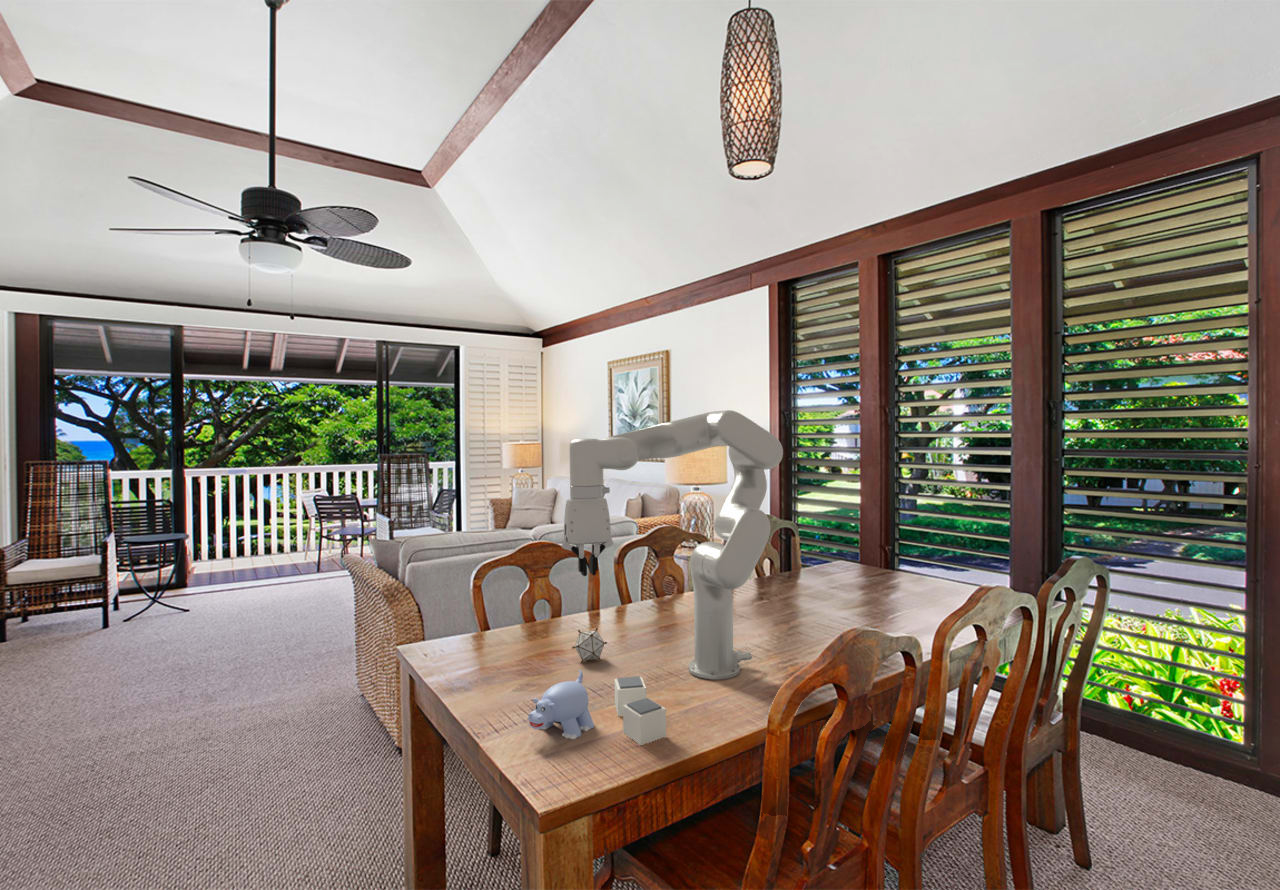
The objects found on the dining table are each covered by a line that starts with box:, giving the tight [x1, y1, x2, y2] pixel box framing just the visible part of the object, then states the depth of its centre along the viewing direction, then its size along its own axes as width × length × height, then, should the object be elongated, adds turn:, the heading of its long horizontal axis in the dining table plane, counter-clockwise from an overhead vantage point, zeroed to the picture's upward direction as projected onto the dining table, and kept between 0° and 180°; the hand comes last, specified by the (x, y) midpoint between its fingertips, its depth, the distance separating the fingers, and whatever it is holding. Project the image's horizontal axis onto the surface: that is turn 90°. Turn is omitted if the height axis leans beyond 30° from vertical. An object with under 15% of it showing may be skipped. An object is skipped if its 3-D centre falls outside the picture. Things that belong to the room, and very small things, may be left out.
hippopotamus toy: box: [527, 669, 595, 741], centre depth 124 cm, size 11×15×10 cm
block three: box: [613, 675, 647, 717], centre depth 133 cm, size 6×6×6 cm
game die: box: [571, 627, 608, 664], centre depth 162 cm, size 9×8×10 cm
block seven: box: [622, 697, 667, 746], centre depth 121 cm, size 6×6×6 cm
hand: (588, 573), depth 141 cm, fingers closed
